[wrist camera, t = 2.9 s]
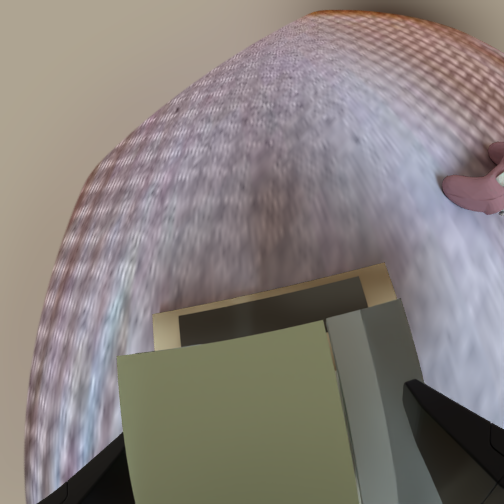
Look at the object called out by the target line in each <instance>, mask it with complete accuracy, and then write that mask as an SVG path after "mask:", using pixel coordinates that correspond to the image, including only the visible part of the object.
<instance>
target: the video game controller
mask: <svg viewBox="0 0 504 504" xmlns="http://www.w3.org/2000/svg"><path fill="white" fill-rule="evenodd" d="M488 153H489V157H490V158H491V159H492V161H493V162H494V163H496V164H497V166H496V167H495V168H494V169H493V170H491V171H490V172H489V173H488V174H487V175H486V176H483V177H466V176H460V175H451V176H447V177H446V178H445V179H444V180H443V182H442V188H443V192H444V193H445V195H446V196H447V197H448V198H449V199H450V200H451V201H452V202H454V203H455V204H457V205H459V206H460V207H463V208H465V209H468V210H472V211H478V212H484V213H485V214H487V215H489V214H494V213H497V212H499V211H500V212H499V215H504V142H495V143H493V144H491V145H490V147H489V149H488Z"/></svg>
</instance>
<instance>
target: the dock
mask: <svg viewBox="0 0 504 504" xmlns="http://www.w3.org/2000/svg"><path fill="white" fill-rule="evenodd" d="M326 326H327V330H328V334H329V338H330V343H331V347H332V351H333V356H334V360H335V365H336V369H337V374H338V378H339V383H340V388H341V392H342V397H343V402H344V407H345V412H346V417H347V422H348V428H349V433H350V438H351V444H352V449H353V455H354V461H355V466H356V472H357V479H358V485H359V491H360V498H361V504H442V501H441V499H440V496H439V494H438V492H437V489H436V487H435V485H434V482H433V480H432V478H431V476H430V473H429V471H428V469H427V467H426V464H425V462H424V460H423V458H422V456H421V453H420V451H419V449H418V447H417V445H416V442H415V440H414V437H413V433H412V430H411V427H410V424H409V421H408V418H407V415H406V412H405V409H404V406H403V401H402V397H403V385H404V383H405V382H406V381H409V380H412V379H417V380H419V381H421V382H422V383H424V380H423V376H422V372H421V368H420V364H419V360H418V356H417V352H416V348H415V345H414V341H413V337H412V334H411V330H410V327H409V324H408V320H407V317H406V314H405V310H404V307H403V304H402V301H401V298H400V299H396V300H393V301H389V302H386V303H382V304H379V305H375V306H372V307H368V308H364V309H361V310H357V311H353V312H349V313H346V314H342V315H338V316H334V317H330V318H326ZM199 345H202V344H199ZM192 346H196V345H192ZM186 347H190V346H186ZM180 348H183V347H180ZM173 349H177V348H173ZM166 350H170V349H166ZM159 351H163V350H159ZM152 352H155V351H152ZM144 353H148V352H144ZM136 354H140V353H136Z"/></svg>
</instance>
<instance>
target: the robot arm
mask: <svg viewBox="0 0 504 504" xmlns="http://www.w3.org/2000/svg"><path fill="white" fill-rule="evenodd" d="M402 401H403V406H404V409H405V412H406V415H407V418H408V421H409V424H410V427H411V430H412V433H413V437H414V440H415V442H416V445H417V447H418V449H419V451H420V453H421V456H422V458H423V460H424V462H425V464H426V467H427V469H428V471H429V473H430V476H431V478H432V480H433V482H434V485H435V487H436V489H437V492H438V494H439V496H440V499H441V501H442V504H504V429H502V428H500V427H498V426H497V425H495V424H493V423H491V422H489V421H488V420H486V419H484V418H482V417H481V416H479V415H477V414H475V413H474V412H472V411H470V410H469V409H467V408H465V407H463V406H462V405H460V404H458V403H456V402H455V401H453V400H451V399H450V398H448V397H446V396H444V395H443V394H441V393H439V392H438V391H436V390H434V389H433V388H431V387H429V386H427V385H426V384H424V383H422V382H421V381H419V380H417V379H412V380H409V381H406V382H405V383H404V385H403V397H402ZM37 504H135V499H134V495H133V490H132V484H131V479H130V474H129V468H128V462H127V456H126V449H125V442H124V434H123V432H122V433H121V434H120V435H119V436H118V437H117V438H116V439H115V440H114V441H112V442H111V443H110V444H109V445H108V446H107V447H106V448H105V449H103V450H102V451H101V452H100V453H99V454H98V455H97V456H96V457H94V458H93V459H92V460H91V461H90V462H89V463H88V464H86V465H85V466H84V467H83V468H82V469H81V470H79V471H78V472H77V473H76V474H75V475H74V476H72V477H71V478H70V479H69V480H68V482H65V483H64V484H63V485H62V486H61V487H59V488H58V489H57V490H56V491H54V492H53V493H52V494H50V495H49V496H47V497H46V498H45V499H43V500H42V501H40V502H39V503H37Z"/></svg>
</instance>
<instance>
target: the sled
mask: <svg viewBox="0 0 504 504" xmlns="http://www.w3.org/2000/svg"><path fill="white" fill-rule="evenodd" d="M117 369H118V384H119V397H120V408H121V418H122V426H123V434H124V442H125V449H126V456H127V462H128V468H129V474H130V479H131V484H132V490H133V495H134V499H135V504H361V498H360V491H359V485H358V479H357V472H356V466H355V461H354V455H353V449H352V444H351V438H350V433H349V428H348V422H347V417H346V412H345V407H344V402H343V397H342V392H341V388H340V383H339V378H338V374H337V370H336V371H335V370H334V366H333V361H332V357H331V352H330V348H329V343H328V339H327V335H326V330H325V326H324V322H323V320H320V321H316V322H312V323H307V324H303V325H299V326H294V327H290V328H285V329H281V330H276V331H271V332H266V333H262V334H257V335H252V336H246V337H241V338H236V339H231V340H225V341H220V342H214V343H208V344H202V345H196V346H190V347H183V348H177V349H170V350H163V351H155V352H148V353H140V354H132V355H123V356H117Z"/></svg>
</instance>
